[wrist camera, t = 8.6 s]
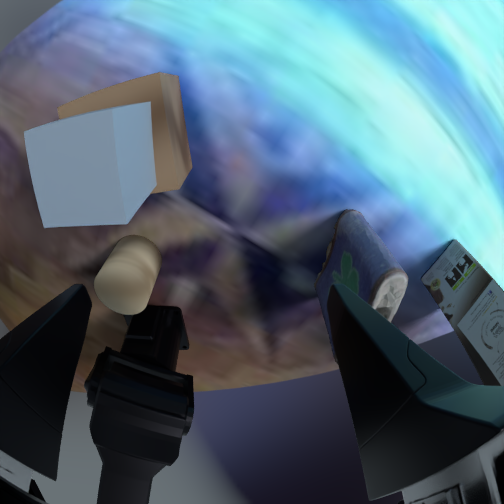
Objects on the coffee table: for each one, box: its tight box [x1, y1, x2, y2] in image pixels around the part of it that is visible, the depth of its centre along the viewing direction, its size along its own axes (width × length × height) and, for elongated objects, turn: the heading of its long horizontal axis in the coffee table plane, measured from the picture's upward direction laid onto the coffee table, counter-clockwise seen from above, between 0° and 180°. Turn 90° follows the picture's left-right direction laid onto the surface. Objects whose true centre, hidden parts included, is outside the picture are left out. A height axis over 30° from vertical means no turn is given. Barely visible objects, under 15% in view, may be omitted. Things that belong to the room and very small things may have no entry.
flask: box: [314, 210, 408, 364], centre depth 20 cm, size 9×3×11 cm, turn 170°
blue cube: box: [24, 101, 157, 228], centre depth 12 cm, size 5×5×5 cm
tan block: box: [57, 72, 192, 194], centre depth 16 cm, size 7×7×5 cm
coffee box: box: [421, 239, 504, 386], centre depth 20 cm, size 9×6×16 cm
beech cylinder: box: [94, 235, 162, 315], centre depth 22 cm, size 5×5×5 cm
